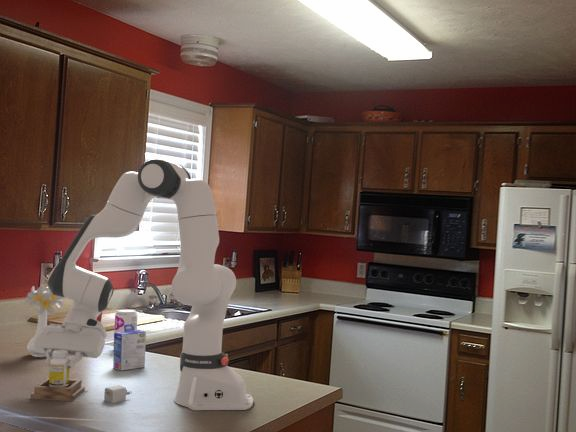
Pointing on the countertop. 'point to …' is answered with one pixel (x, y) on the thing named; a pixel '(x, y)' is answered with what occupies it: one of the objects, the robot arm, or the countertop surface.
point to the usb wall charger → (115, 394)
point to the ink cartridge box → (129, 349)
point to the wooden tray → (58, 390)
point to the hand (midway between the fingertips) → (58, 366)
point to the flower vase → (41, 312)
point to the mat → (63, 400)
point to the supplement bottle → (59, 369)
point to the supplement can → (125, 320)
